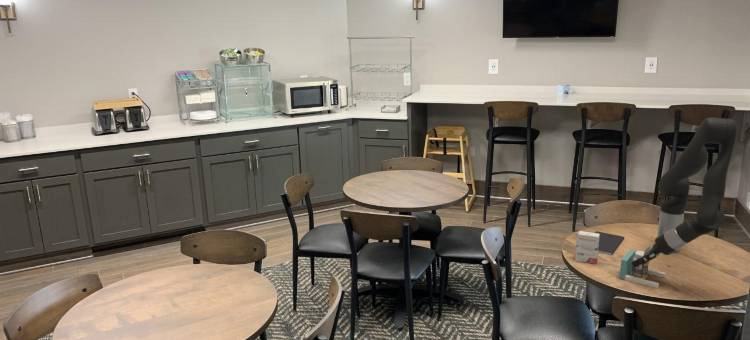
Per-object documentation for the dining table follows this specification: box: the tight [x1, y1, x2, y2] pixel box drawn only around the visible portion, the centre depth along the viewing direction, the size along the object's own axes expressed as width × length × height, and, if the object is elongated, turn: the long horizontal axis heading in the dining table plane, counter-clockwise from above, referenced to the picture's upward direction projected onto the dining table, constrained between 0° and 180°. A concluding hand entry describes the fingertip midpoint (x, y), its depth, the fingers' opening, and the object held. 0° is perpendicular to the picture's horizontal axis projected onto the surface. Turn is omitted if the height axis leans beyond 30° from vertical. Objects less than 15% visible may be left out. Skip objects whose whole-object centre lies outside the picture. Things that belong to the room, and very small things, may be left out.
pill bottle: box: [631, 250, 650, 280], centre depth 233 cm, size 6×6×10 cm
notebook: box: [594, 231, 625, 256], centre depth 265 cm, size 13×2×21 cm
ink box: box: [574, 230, 600, 265], centre depth 248 cm, size 9×5×12 cm, turn 65°
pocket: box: [619, 248, 667, 289], centre depth 232 cm, size 14×12×8 cm
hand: (636, 261), depth 233 cm, fingers open, 8 cm apart
